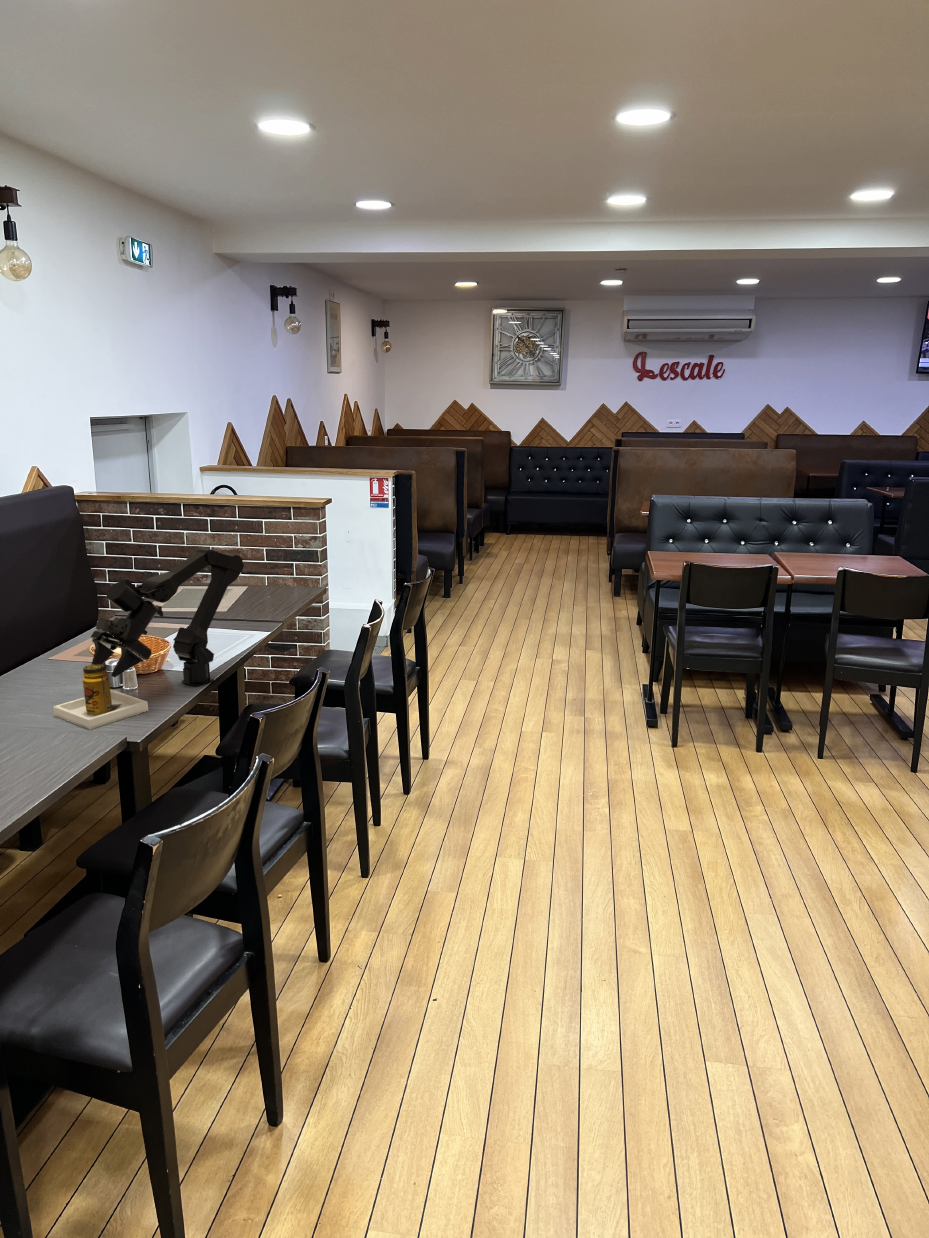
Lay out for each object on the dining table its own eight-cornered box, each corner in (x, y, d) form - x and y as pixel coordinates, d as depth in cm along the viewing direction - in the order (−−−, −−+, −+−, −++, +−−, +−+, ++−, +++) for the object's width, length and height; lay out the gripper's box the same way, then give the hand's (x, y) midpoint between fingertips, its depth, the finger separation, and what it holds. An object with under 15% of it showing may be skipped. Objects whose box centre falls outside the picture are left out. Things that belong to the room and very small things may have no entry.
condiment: (79, 716, 211) (74, 670, 208) (94, 704, 220) (89, 660, 217) (109, 716, 211) (104, 670, 208) (122, 704, 220) (117, 660, 217)
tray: (112, 698, 226) (111, 689, 226) (148, 710, 217) (147, 701, 216) (54, 715, 214) (53, 706, 213) (89, 729, 204) (88, 720, 204)
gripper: (93, 599, 219) (57, 650, 213) (136, 609, 208) (99, 663, 203) (124, 622, 227) (90, 672, 221) (166, 633, 217) (132, 686, 211)
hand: (102, 673), depth 214 cm, fingers open, 9 cm apart
